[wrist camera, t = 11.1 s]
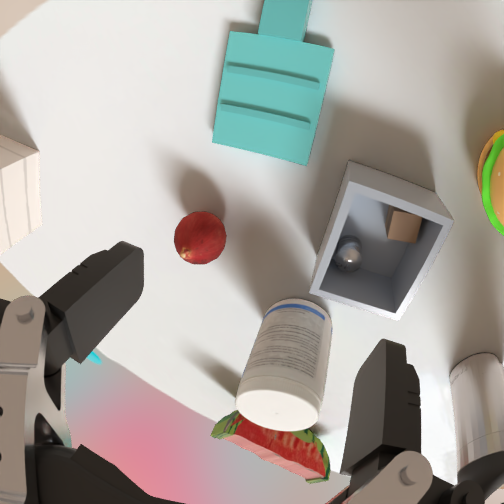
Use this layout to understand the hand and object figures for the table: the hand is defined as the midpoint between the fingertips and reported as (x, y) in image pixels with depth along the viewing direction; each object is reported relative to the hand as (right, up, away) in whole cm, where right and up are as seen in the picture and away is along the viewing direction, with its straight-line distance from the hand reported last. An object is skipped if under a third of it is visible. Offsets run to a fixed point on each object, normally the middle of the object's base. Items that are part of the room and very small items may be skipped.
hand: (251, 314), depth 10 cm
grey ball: (+11, +2, +24) cm, 26 cm away
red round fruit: (-5, +5, +29) cm, 30 cm away
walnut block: (+15, +6, +21) cm, 26 cm away
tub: (+13, +5, +23) cm, 27 cm away
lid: (+3, +20, +17) cm, 27 cm away
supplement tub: (+7, -8, +33) cm, 35 cm away
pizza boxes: (-48, +18, +36) cm, 63 cm away
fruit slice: (+7, -33, +48) cm, 59 cm away
